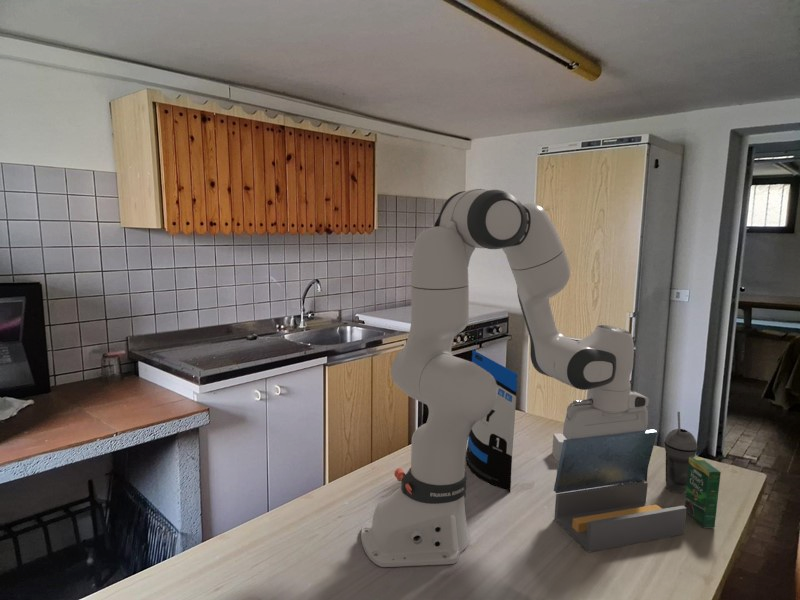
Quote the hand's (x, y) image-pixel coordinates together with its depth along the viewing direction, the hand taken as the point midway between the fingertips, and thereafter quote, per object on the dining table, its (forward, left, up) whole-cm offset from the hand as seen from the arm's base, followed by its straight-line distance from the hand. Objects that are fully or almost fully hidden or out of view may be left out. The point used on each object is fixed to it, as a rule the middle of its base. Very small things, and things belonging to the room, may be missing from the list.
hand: (602, 455), depth 116 cm
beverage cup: (+26, +3, -14) cm, 29 cm away
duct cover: (0, -2, -1) cm, 2 cm away
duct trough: (0, -7, -13) cm, 15 cm away
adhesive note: (+9, +25, -14) cm, 30 cm away
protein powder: (-16, +24, -14) cm, 32 cm away
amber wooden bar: (0, -7, -13) cm, 15 cm away
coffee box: (+20, -9, -14) cm, 26 cm away
